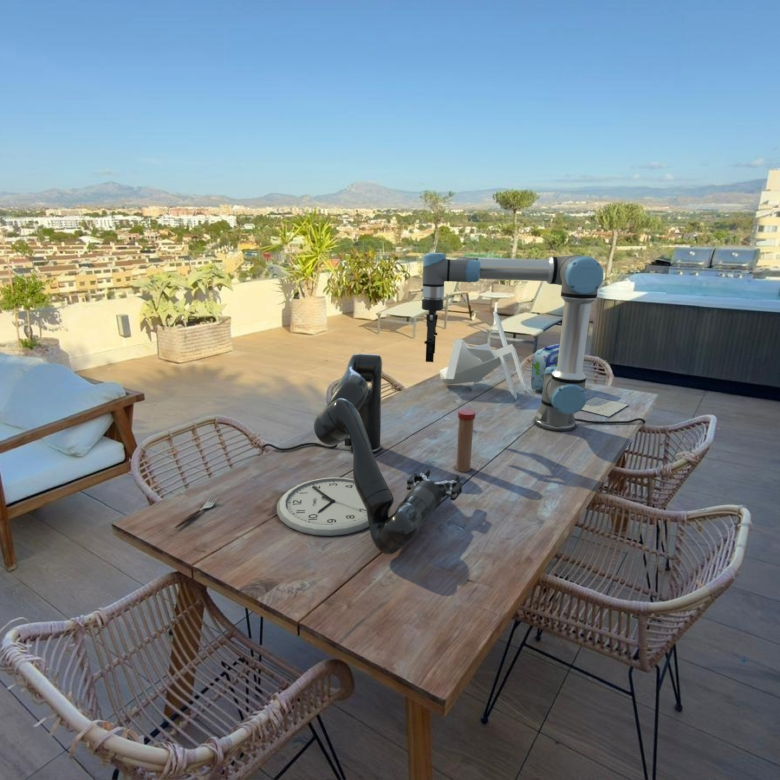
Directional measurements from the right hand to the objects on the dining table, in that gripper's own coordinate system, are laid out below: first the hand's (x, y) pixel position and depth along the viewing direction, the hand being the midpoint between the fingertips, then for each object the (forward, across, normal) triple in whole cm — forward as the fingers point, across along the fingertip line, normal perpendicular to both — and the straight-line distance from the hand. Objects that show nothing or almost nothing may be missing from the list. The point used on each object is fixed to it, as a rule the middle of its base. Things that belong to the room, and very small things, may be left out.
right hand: (430, 357), depth 190 cm
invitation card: (+28, -38, +73) cm, 87 cm away
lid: (+9, +32, +13) cm, 36 cm away
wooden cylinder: (+28, +32, +13) cm, 45 cm away
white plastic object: (+28, -50, +22) cm, 61 cm away
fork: (+28, +71, -57) cm, 95 cm away
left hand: (+21, +51, +7) cm, 56 cm away
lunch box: (+28, -62, +56) cm, 88 cm away
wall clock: (+28, +61, -23) cm, 71 cm away
